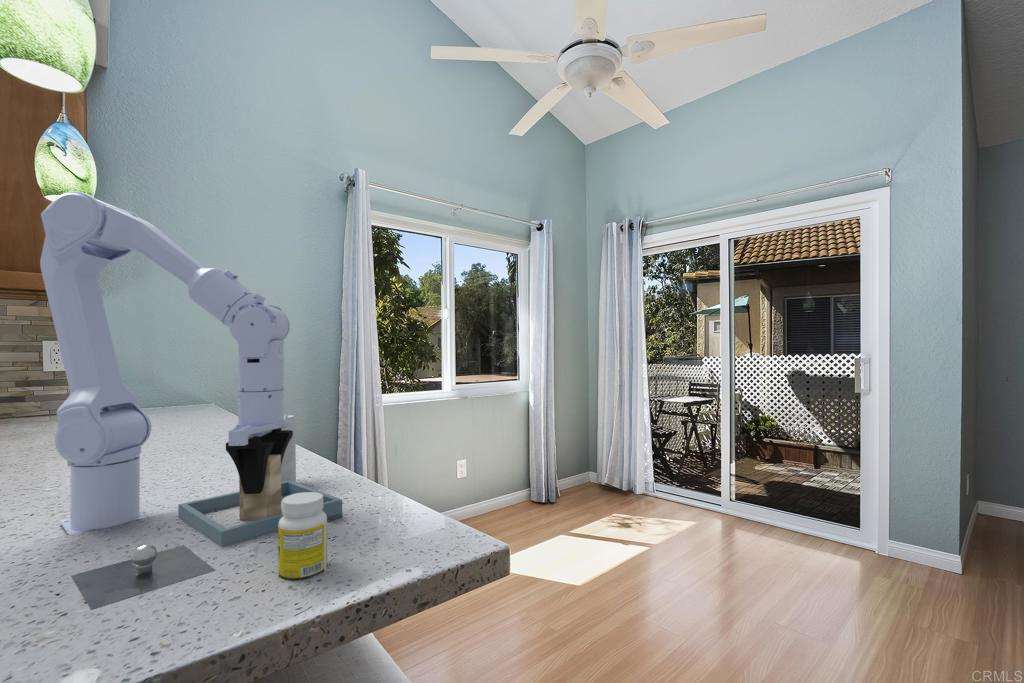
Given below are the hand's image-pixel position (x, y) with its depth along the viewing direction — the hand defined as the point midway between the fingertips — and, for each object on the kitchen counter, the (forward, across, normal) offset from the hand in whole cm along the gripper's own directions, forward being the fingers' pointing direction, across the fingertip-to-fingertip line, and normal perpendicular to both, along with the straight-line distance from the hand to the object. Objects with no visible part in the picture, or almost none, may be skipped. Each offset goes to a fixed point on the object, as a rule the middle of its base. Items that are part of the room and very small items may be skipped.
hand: (261, 487), depth 68 cm
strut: (+4, 0, 0) cm, 4 cm away
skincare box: (+5, +17, +5) cm, 18 cm away
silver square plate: (+4, -17, +5) cm, 18 cm away
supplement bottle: (+5, -18, -12) cm, 22 cm away
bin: (+4, 0, 0) cm, 4 cm away
